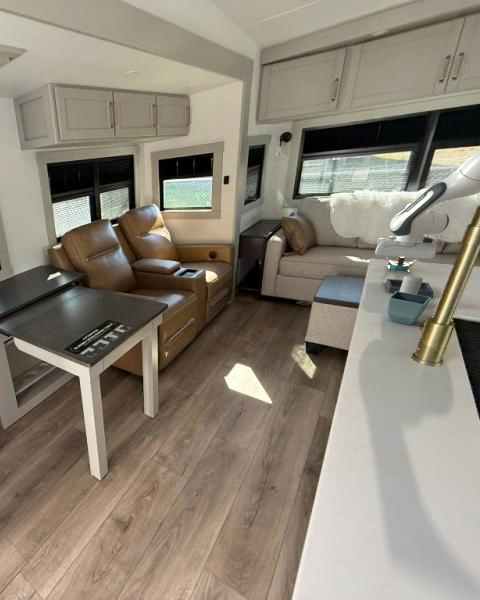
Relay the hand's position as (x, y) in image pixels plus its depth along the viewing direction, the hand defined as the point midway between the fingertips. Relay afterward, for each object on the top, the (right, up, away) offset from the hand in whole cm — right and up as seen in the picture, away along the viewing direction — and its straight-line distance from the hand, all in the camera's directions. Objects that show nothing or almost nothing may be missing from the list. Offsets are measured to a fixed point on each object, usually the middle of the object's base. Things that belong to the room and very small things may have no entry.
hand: (399, 265), depth 152 cm
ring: (0, -1, +1) cm, 2 cm away
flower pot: (-42, -24, -42) cm, 64 cm away
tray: (-18, -13, -21) cm, 30 cm away
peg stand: (0, -2, +1) cm, 2 cm away
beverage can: (-31, -19, -32) cm, 49 cm away
